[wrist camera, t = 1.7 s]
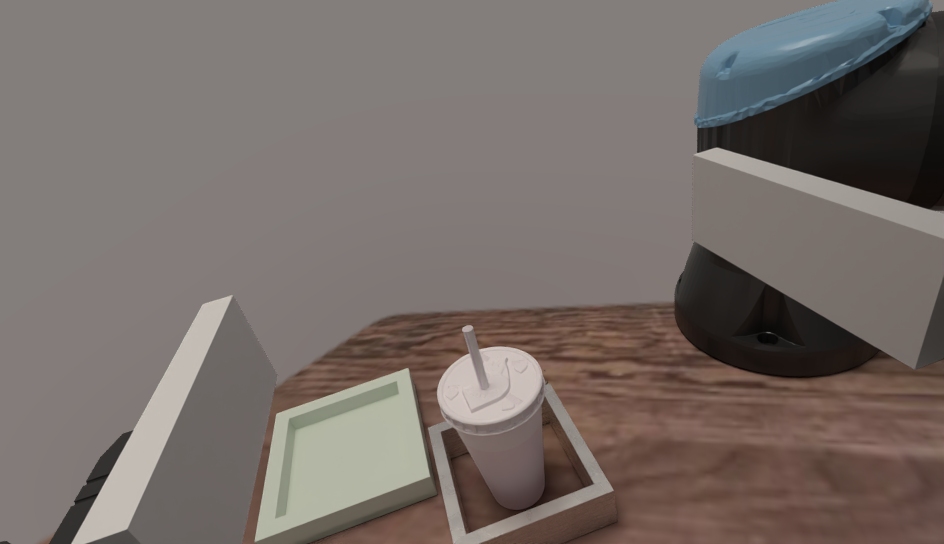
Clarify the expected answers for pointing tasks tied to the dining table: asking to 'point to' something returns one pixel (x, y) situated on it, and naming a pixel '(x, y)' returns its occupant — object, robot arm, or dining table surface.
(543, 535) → the square frame
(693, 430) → the dining table surface
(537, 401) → the smoothie
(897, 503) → the dining table surface
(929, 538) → the dining table surface
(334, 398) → the tray
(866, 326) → the robot arm
